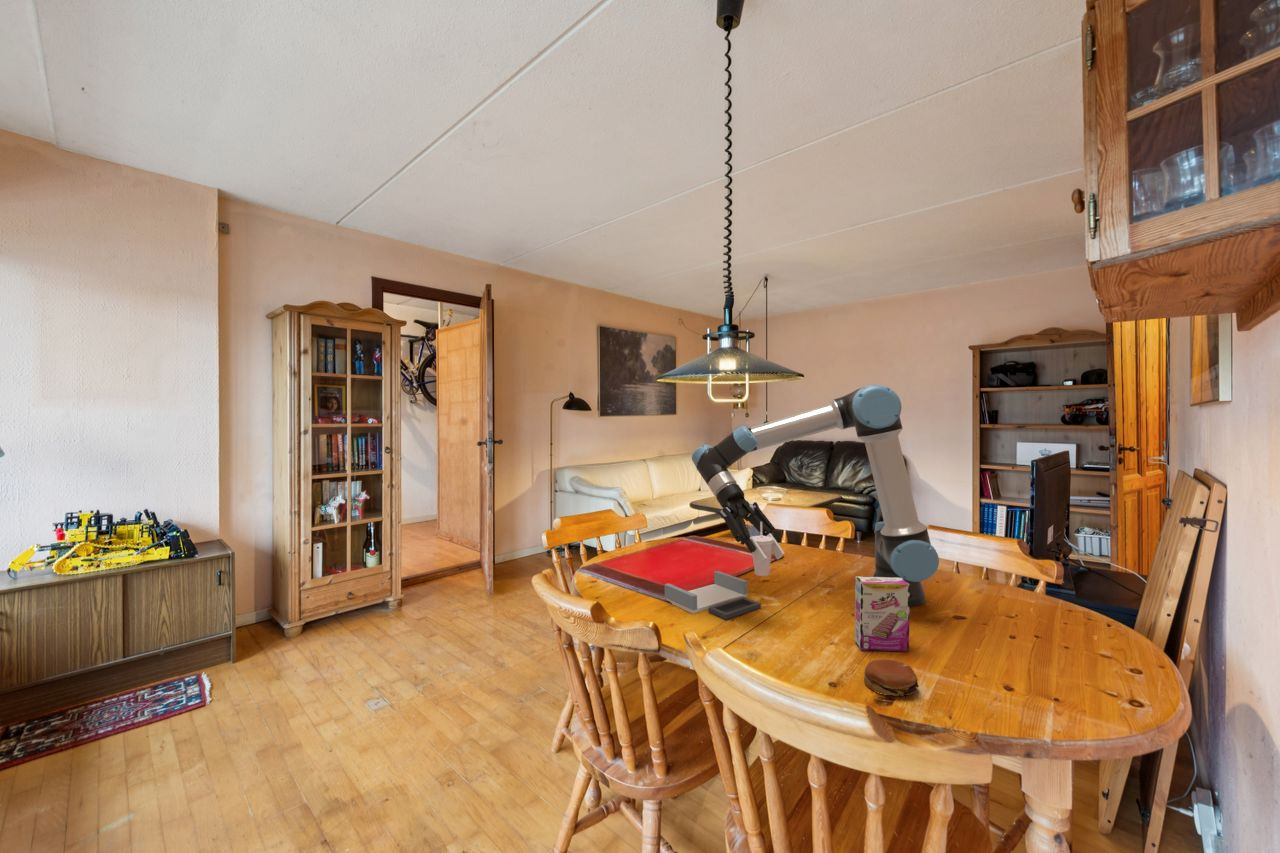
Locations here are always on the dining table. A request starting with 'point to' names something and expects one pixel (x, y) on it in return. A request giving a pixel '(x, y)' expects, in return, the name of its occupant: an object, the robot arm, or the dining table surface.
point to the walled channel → (707, 593)
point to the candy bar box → (882, 613)
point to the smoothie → (766, 547)
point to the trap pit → (734, 608)
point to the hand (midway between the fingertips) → (772, 558)
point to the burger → (890, 677)
